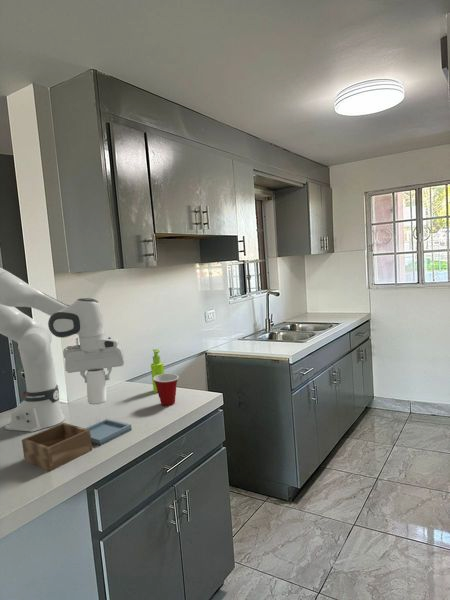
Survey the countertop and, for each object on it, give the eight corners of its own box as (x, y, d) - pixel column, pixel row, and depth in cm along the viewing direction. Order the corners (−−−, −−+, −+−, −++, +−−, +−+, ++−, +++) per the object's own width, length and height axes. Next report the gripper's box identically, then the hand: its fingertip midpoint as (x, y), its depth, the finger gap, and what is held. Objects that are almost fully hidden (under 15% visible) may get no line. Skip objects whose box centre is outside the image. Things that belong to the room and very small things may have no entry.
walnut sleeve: (24, 460, 132) (21, 439, 131) (65, 441, 144) (63, 422, 143) (50, 471, 123) (47, 448, 122) (92, 450, 135) (89, 429, 135)
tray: (75, 438, 146) (74, 432, 146) (107, 423, 158) (106, 418, 157) (100, 445, 138) (99, 440, 138) (131, 429, 149) (131, 424, 149)
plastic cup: (175, 408, 168) (172, 380, 167) (151, 408, 171) (148, 380, 170) (185, 399, 178) (182, 372, 177) (162, 399, 181) (159, 372, 180)
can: (102, 404, 143) (101, 371, 142) (84, 404, 143) (83, 371, 143) (109, 398, 150) (107, 366, 149) (91, 398, 150) (90, 366, 149)
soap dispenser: (155, 393, 190) (151, 351, 188) (152, 390, 196) (148, 349, 194) (168, 391, 192) (163, 349, 190) (164, 387, 198) (160, 347, 196)
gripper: (60, 348, 140) (65, 387, 141) (121, 341, 143) (125, 379, 144) (64, 345, 146) (69, 382, 147) (122, 338, 149) (126, 375, 151)
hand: (97, 381), depth 146 cm, fingers closed on can, 6 cm apart
